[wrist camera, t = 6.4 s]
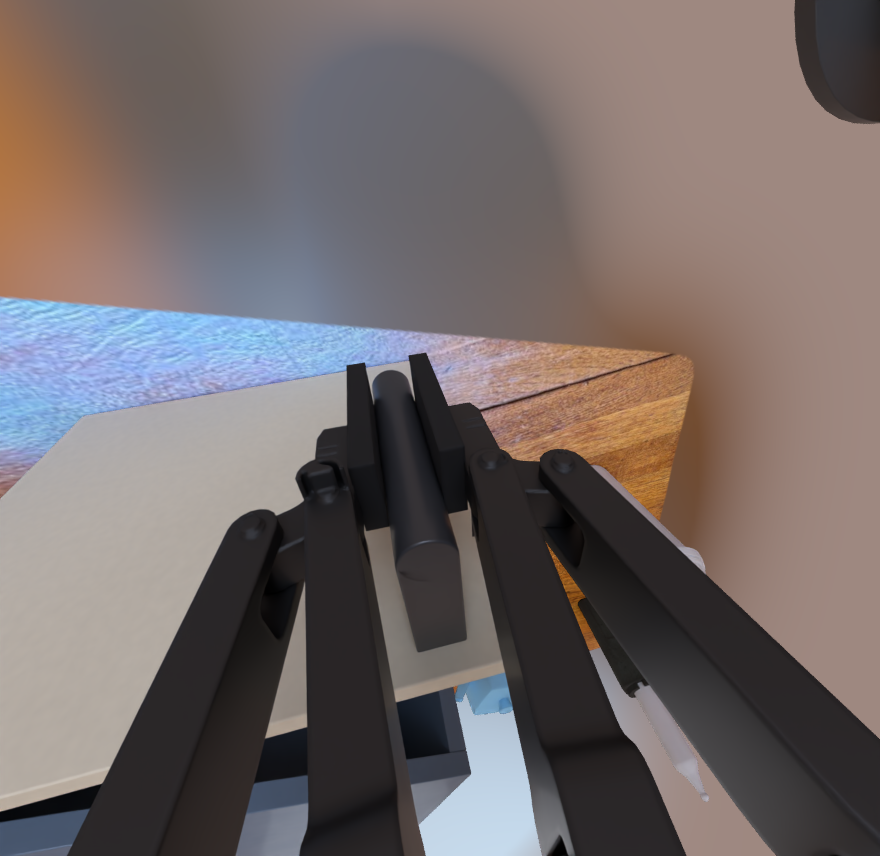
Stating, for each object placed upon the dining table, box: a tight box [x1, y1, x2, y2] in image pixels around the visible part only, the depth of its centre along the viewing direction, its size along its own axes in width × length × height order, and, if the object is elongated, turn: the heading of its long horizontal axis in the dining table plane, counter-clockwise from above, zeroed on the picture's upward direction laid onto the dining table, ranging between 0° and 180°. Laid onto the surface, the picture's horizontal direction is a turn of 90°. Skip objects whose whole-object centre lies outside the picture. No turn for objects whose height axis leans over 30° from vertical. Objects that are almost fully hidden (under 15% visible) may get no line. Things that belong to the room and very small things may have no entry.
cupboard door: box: [0, 361, 505, 812], centre depth 19 cm, size 7×26×24 cm, turn 95°
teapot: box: [455, 672, 513, 715], centre depth 60 cm, size 18×14×10 cm
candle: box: [578, 598, 709, 802], centre depth 54 cm, size 5×5×25 cm
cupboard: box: [0, 687, 471, 856], centre depth 29 cm, size 18×26×24 cm
